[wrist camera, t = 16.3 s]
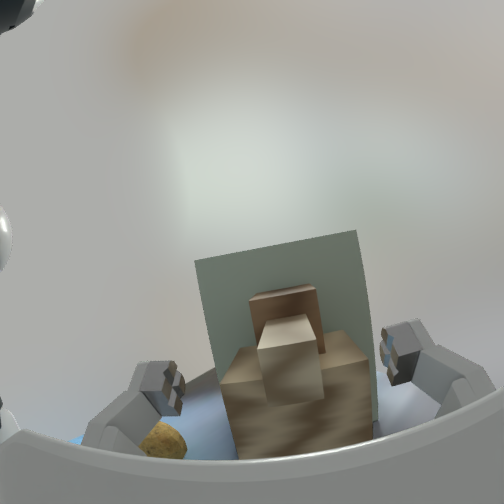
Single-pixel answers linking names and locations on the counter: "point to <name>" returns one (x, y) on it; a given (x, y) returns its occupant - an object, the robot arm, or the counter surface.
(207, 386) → the counter surface
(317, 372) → the walnut handle block
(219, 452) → the counter surface
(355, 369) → the low oak block
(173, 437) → the potato
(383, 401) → the counter surface
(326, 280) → the large sage green box
